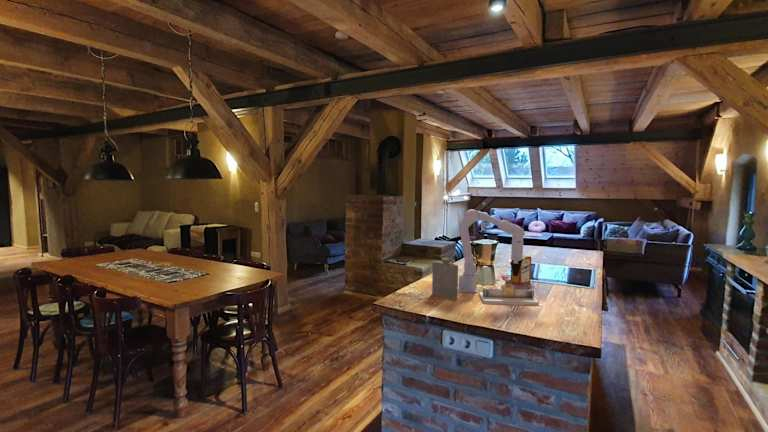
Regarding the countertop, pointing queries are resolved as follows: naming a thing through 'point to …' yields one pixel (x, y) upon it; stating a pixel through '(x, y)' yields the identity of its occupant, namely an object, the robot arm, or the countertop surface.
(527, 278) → the baking soda box
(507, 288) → the ball valve
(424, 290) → the countertop surface
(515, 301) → the mounting board
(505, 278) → the valve lever
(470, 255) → the robot arm
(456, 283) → the hip flask
